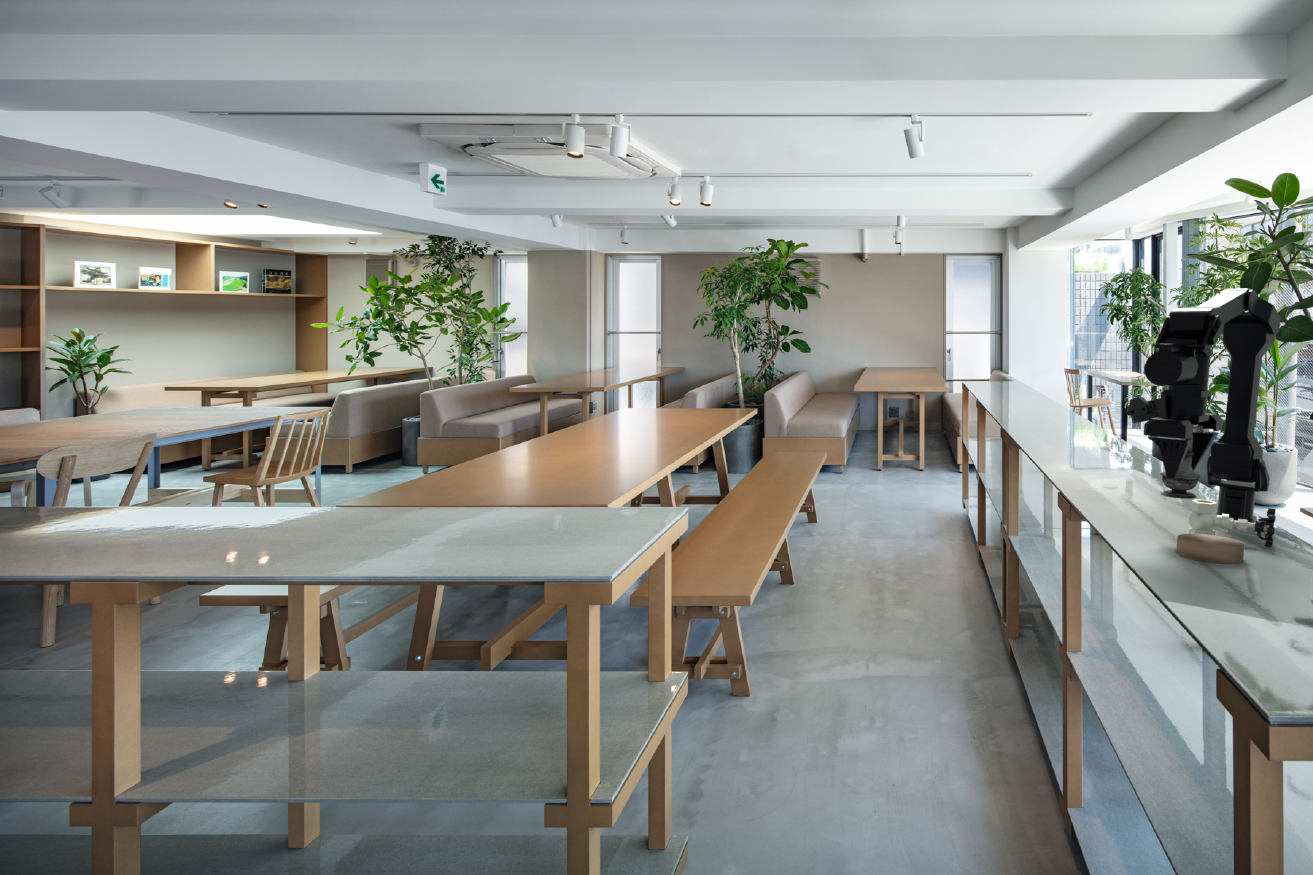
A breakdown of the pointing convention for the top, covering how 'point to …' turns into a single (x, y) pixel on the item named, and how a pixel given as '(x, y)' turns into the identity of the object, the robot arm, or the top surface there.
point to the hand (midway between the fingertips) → (1179, 475)
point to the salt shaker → (1182, 479)
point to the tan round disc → (1210, 548)
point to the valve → (1227, 521)
